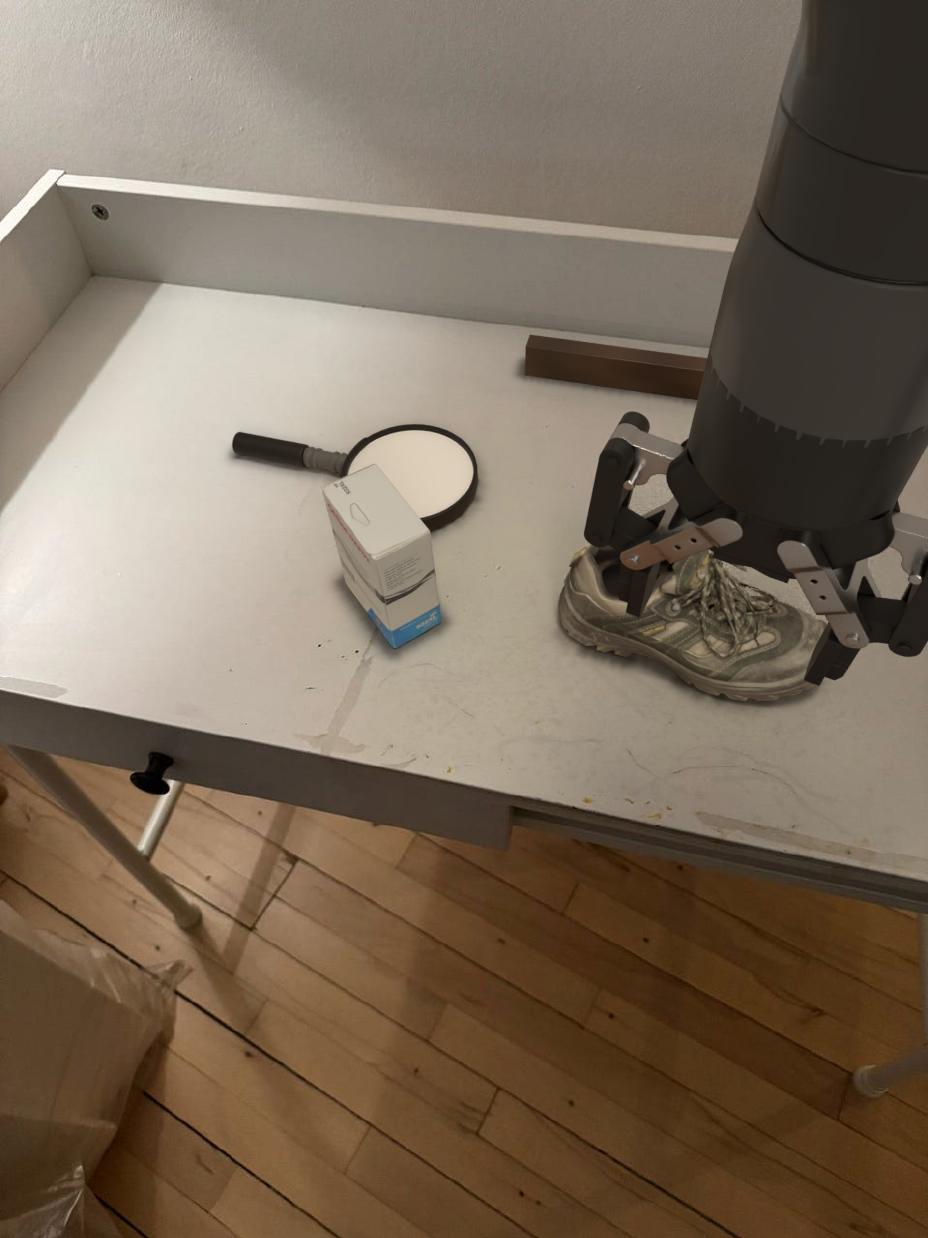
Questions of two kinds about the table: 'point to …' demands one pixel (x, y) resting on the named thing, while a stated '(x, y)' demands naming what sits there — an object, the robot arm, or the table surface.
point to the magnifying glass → (391, 465)
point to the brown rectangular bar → (614, 366)
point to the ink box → (384, 554)
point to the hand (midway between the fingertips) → (725, 634)
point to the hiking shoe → (694, 625)
